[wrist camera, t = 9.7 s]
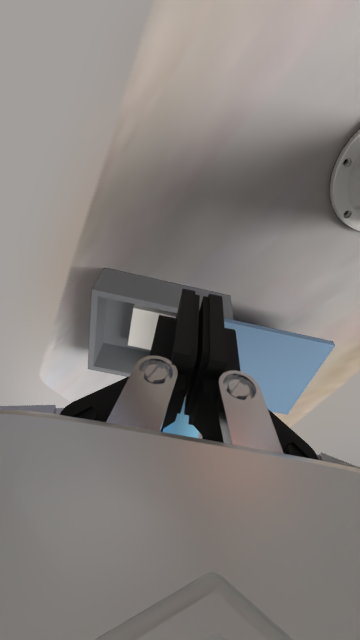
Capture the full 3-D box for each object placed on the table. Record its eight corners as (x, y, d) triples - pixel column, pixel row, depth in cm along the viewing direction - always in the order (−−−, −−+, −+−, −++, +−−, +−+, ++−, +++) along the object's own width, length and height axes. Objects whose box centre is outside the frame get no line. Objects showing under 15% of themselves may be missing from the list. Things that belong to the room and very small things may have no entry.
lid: (332, 341, 39) (342, 359, 36) (286, 410, 47) (291, 428, 44) (196, 312, 37) (196, 328, 34) (173, 388, 46) (171, 405, 43)
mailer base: (230, 295, 43) (233, 320, 38) (204, 364, 51) (204, 391, 46) (104, 267, 41) (91, 289, 37) (99, 343, 50) (87, 368, 45)
